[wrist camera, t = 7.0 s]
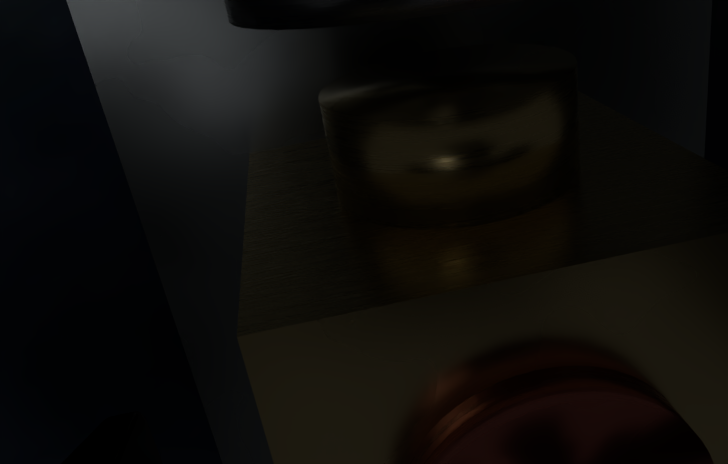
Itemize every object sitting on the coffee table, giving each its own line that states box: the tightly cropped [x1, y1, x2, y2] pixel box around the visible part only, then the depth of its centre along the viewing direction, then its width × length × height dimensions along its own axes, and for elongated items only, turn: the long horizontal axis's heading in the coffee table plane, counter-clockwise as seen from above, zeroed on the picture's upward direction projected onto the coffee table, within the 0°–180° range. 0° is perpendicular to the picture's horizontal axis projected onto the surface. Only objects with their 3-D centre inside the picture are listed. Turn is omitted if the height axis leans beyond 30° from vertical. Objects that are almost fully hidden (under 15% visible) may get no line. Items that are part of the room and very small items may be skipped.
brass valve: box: [237, 44, 728, 464], centre depth 9 cm, size 7×5×6 cm
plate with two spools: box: [67, 0, 712, 464], centre depth 9 cm, size 22×9×5 cm, turn 9°
